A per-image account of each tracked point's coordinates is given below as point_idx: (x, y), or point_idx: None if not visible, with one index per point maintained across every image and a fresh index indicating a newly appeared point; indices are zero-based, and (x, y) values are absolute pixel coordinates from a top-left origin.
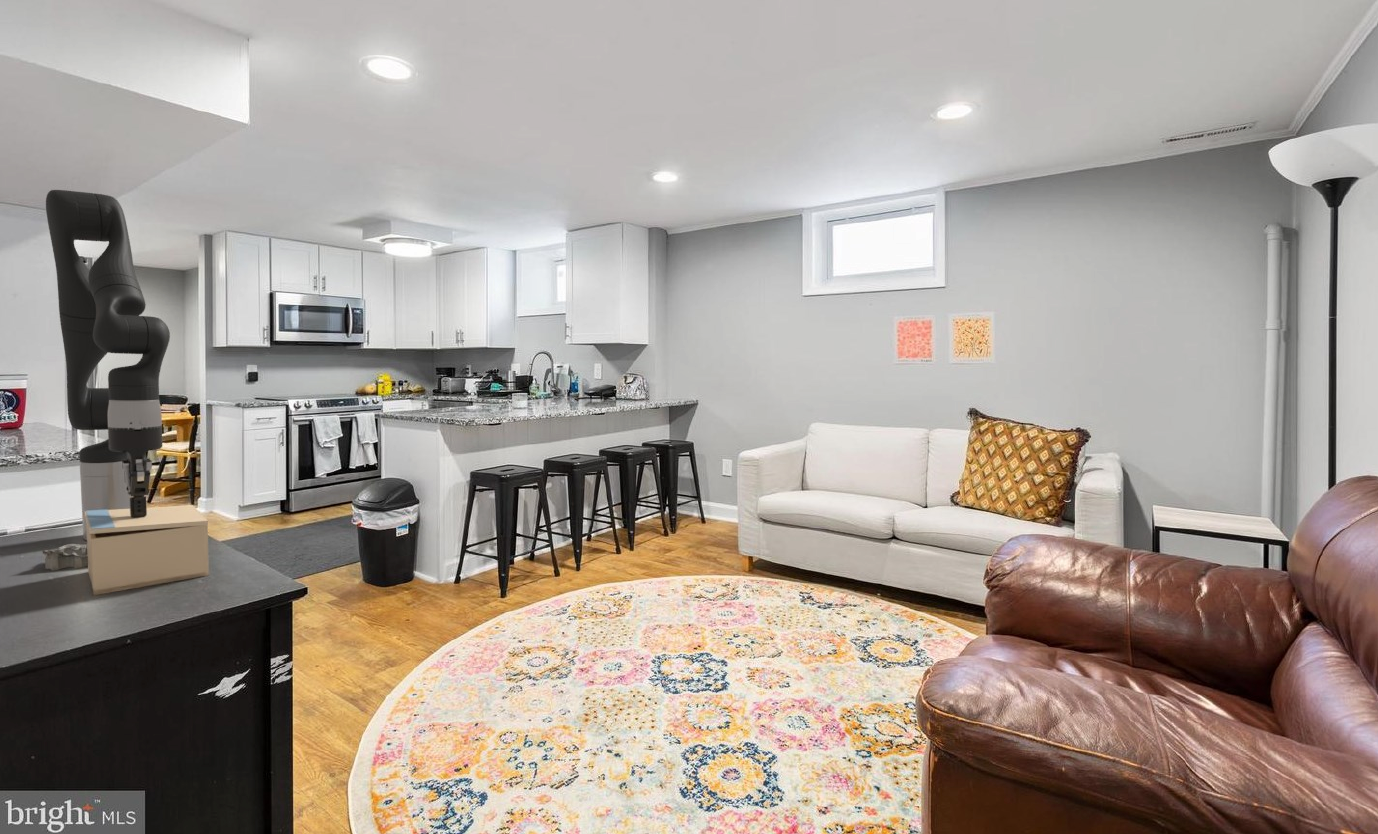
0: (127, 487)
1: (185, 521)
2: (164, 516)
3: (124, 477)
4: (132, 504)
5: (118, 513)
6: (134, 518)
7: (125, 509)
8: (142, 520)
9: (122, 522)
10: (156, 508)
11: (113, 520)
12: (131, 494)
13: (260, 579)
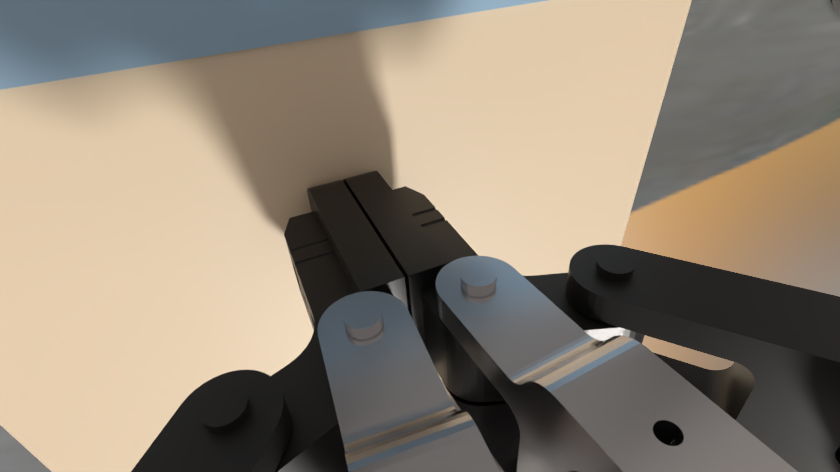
0: (627, 279)
1: None
2: None
3: (683, 431)
4: (338, 262)
5: (531, 66)
6: (277, 206)
7: (646, 92)
8: (175, 273)
9: (74, 157)
10: (586, 243)
11: (208, 66)
12: (169, 429)
13: (20, 457)
